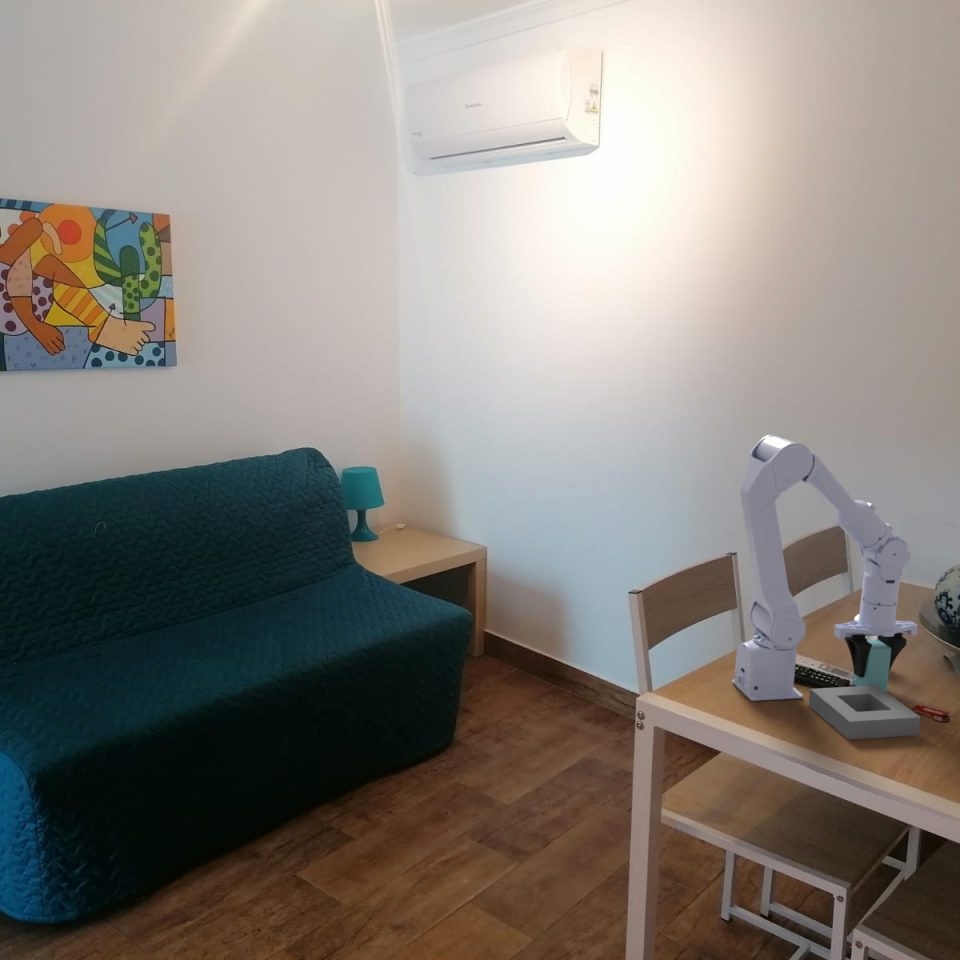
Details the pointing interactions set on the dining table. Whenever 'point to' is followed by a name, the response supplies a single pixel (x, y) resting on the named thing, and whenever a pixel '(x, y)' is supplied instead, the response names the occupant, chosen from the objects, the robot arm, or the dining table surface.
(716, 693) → the dining table surface
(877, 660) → the peg
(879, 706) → the socket block
